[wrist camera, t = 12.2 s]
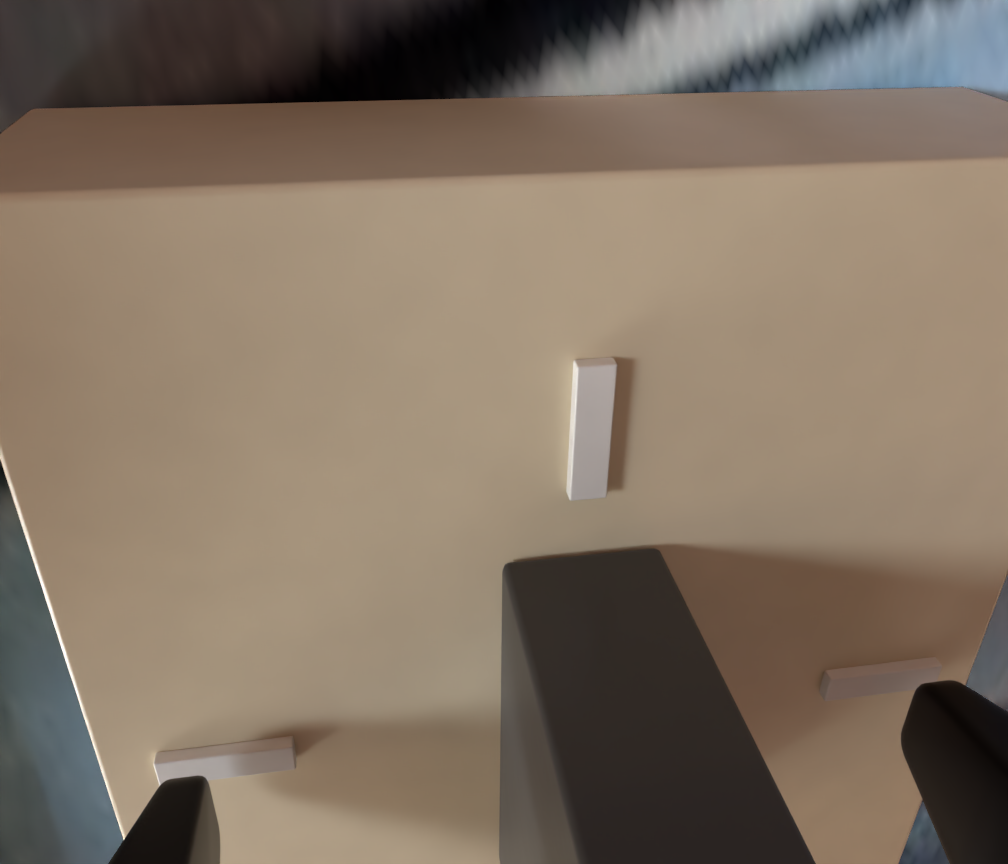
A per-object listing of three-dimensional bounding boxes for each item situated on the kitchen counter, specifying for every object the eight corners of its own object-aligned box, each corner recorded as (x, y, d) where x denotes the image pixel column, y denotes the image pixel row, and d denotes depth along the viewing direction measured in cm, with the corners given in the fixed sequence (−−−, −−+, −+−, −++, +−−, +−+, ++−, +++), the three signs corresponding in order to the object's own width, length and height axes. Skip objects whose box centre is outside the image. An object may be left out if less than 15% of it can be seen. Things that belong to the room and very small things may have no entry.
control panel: (786, 783, 17) (874, 957, 14) (215, 864, 15) (191, 1075, 12) (964, 85, 10) (1186, 156, 8) (27, 107, 9) (-100, 205, 6)
